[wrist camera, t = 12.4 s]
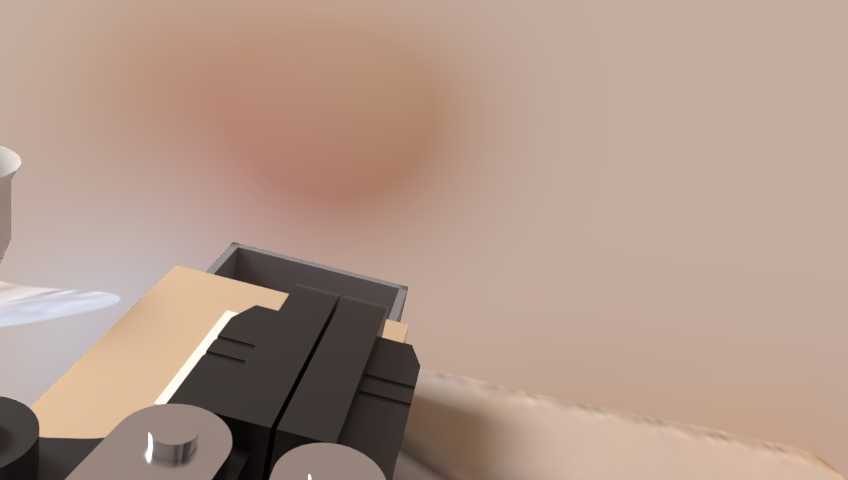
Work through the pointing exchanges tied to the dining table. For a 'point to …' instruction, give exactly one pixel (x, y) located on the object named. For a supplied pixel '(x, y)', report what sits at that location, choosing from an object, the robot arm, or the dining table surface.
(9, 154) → the chalice
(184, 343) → the mailer sleeve
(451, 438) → the dining table surface
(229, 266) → the tray
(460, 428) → the dining table surface
